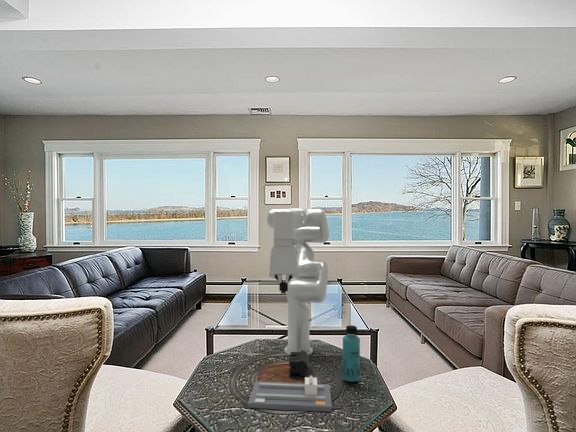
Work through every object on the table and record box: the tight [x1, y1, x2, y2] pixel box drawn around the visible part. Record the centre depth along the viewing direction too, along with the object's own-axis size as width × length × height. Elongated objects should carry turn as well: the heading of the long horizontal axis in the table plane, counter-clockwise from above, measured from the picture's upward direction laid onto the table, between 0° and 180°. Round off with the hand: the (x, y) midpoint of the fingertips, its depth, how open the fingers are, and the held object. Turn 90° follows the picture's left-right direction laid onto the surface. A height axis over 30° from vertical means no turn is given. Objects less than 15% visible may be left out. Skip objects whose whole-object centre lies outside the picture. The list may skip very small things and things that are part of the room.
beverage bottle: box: [341, 325, 361, 382], centre depth 125 cm, size 6×7×20 cm
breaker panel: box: [247, 381, 333, 413], centre depth 114 cm, size 14×26×2 cm, turn 86°
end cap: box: [288, 350, 310, 378], centre depth 133 cm, size 10×7×7 cm
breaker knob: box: [304, 375, 318, 396], centre depth 113 cm, size 5×4×5 cm
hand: (283, 292), depth 128 cm, fingers closed
